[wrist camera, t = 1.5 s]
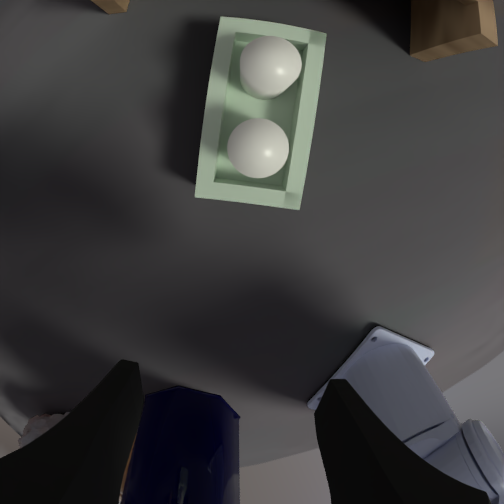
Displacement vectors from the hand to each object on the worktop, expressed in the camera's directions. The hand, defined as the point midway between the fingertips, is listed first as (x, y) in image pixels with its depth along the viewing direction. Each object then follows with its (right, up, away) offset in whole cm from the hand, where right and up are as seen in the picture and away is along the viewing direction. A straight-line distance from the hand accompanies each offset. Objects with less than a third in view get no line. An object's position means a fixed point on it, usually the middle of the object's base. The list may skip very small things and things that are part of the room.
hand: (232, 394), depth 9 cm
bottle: (-5, -10, +14) cm, 18 cm away
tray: (+1, +12, +5) cm, 13 cm away
